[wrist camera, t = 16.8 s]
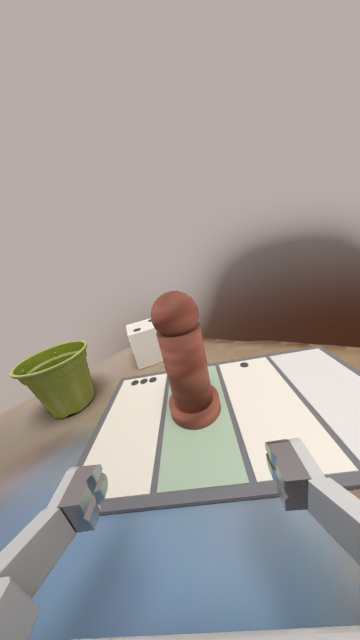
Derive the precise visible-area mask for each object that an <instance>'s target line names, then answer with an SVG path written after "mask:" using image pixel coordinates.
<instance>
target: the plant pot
mask: <svg viewBox="0 0 360 640" xmlns="http://www.w3.org/2000/svg"><path fill="white" fill-rule="evenodd" d="M86 347H87V343H86V342H85V341H81V340H78V341H71V342H66V343H62V344H59V345H56V346H53V347H50V348H48V349H45V350H43V351H40V352H38V353H36V354H34V355H32V356H30V357H28V358H26V359H25V360H24V361H21V362H20V363H19V364H18V365H16V366H15V367H14V368H13V369H12V370H11V372H10V376H11V377H12V378H14V379H18V380H19V381H20V382H21V383H22V384H24V385H27V387H28V388H29V389H30V390H31V391H32V392H33V393H34V394H35V396H36V397H37V398H38V399H39V400H40V402H41V403H42V404H43V405H44V406H45V407H46V409H47V410H48V411H49V412H50V413H51V414H52V416H53V417H55V418H58V419H61V418H66V417H67V416H68V415H70V414H73V413H78V412H79V411H81V410H82V409H84V408H85V407H86V406H87V405H88V404H89V403H90V402H91V401H92V399H93V398H94V388H93V384H92V380H91V376H90V372H89V368H88V364H87V360H86V355H87V354H86Z"/></svg>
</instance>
